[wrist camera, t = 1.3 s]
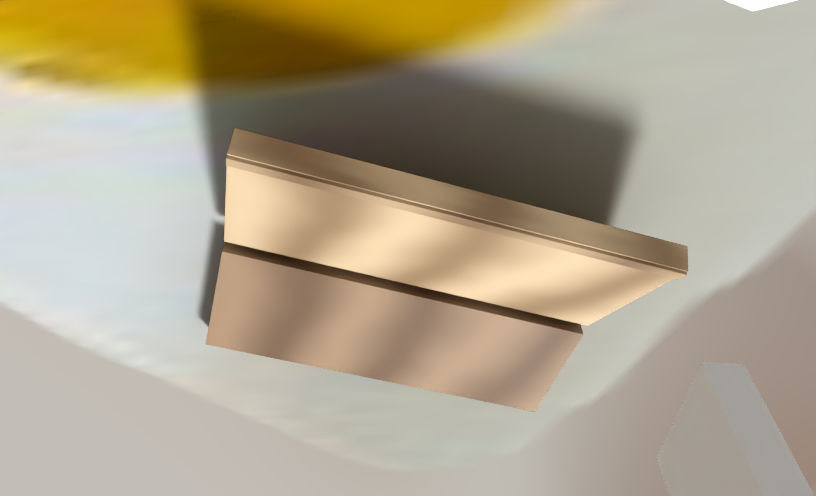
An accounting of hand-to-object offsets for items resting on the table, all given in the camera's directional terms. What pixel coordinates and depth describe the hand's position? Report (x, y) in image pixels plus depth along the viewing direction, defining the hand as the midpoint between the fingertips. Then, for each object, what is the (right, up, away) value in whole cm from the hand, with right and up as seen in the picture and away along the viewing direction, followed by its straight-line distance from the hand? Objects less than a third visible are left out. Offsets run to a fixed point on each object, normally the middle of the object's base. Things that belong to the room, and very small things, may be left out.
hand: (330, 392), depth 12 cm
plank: (+3, +3, +20) cm, 21 cm away
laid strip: (+1, -2, +27) cm, 27 cm away
